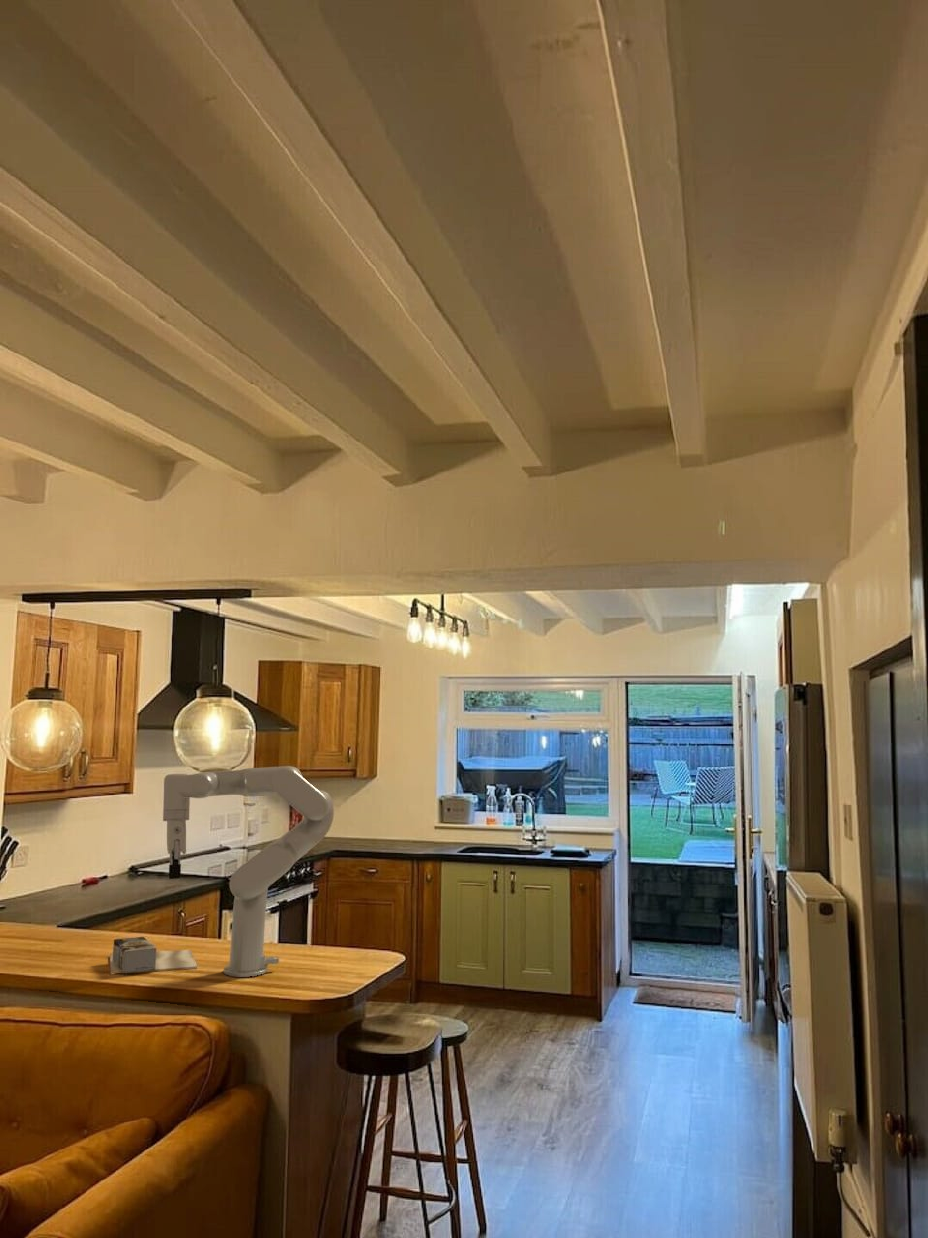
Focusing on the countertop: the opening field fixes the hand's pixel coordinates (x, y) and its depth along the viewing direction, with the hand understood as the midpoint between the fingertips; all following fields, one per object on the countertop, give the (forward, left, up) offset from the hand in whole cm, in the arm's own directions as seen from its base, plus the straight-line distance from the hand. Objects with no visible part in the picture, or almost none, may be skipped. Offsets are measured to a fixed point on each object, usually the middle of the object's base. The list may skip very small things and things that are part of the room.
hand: (174, 878), depth 260 cm
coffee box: (+8, +1, -23) cm, 24 cm away
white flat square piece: (+4, -12, -27) cm, 29 cm away
